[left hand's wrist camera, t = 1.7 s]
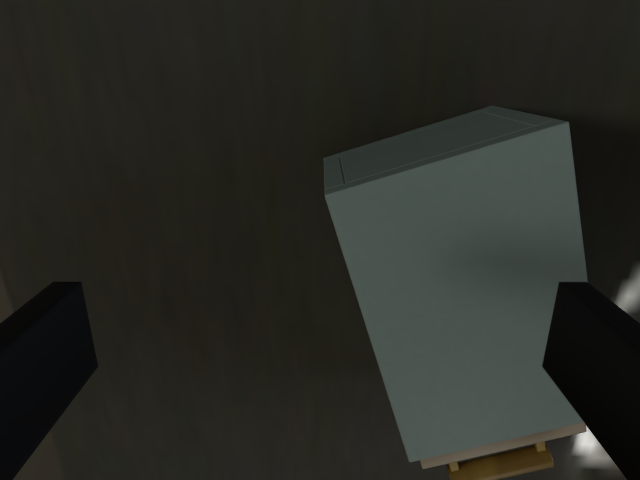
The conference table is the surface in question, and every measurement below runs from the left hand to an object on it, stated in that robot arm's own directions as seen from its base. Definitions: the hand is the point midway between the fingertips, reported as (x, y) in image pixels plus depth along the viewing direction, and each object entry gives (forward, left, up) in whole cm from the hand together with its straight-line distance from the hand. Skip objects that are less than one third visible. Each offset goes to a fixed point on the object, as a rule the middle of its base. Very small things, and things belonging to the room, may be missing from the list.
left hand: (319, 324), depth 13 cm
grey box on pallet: (-1, +10, -20) cm, 22 cm away
